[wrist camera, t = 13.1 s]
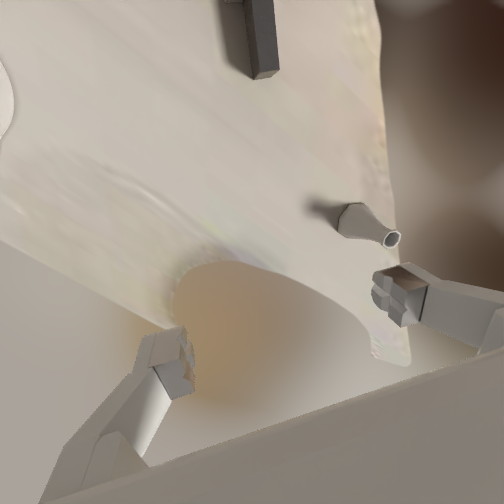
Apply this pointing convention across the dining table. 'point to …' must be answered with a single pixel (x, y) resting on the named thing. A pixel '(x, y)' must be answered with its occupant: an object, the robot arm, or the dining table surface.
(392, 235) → the flask
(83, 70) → the dining table surface
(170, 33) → the dining table surface
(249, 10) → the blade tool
